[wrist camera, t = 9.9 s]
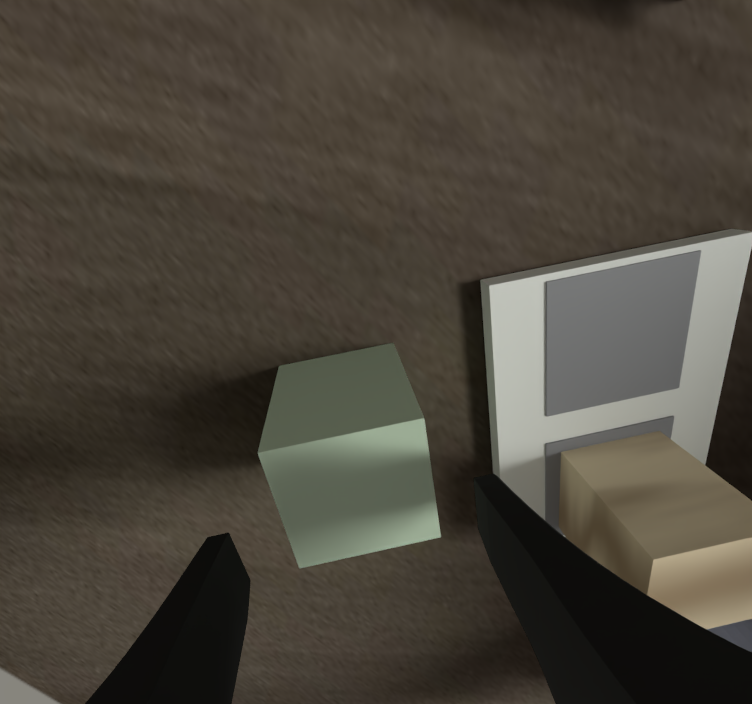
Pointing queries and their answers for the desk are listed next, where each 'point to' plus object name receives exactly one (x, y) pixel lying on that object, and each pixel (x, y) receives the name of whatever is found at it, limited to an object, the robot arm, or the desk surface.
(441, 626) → the desk surface
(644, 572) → the wooden toy cube
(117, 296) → the desk surface
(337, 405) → the sage post
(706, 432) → the board
